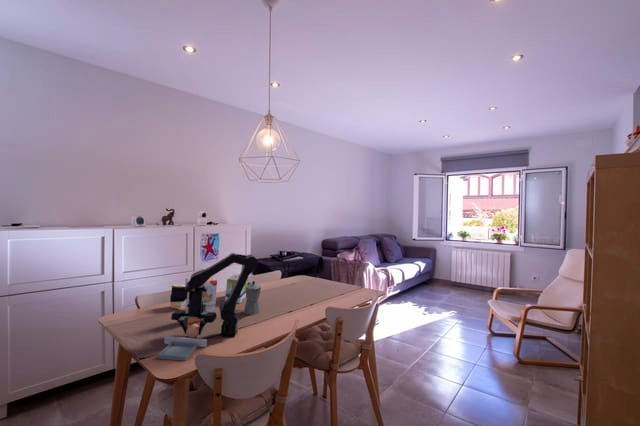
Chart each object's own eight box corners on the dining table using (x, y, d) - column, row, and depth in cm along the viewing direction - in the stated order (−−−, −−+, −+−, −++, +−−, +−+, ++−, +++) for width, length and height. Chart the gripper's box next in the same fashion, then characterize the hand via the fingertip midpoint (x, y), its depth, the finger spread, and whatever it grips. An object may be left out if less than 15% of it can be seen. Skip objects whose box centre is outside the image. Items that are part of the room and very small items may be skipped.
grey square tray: (197, 347, 127) (197, 343, 127) (185, 360, 116) (185, 356, 116) (171, 345, 127) (171, 341, 127) (157, 358, 116) (157, 354, 116)
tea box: (240, 303, 184) (242, 280, 184) (224, 302, 184) (226, 278, 184) (246, 296, 199) (248, 274, 199) (232, 295, 199) (233, 273, 199)
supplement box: (169, 307, 169) (171, 284, 168) (176, 305, 173) (177, 283, 173) (180, 310, 166) (182, 287, 166) (187, 307, 170) (188, 285, 170)
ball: (202, 334, 139) (202, 322, 139) (196, 340, 133) (197, 327, 133) (189, 333, 139) (190, 321, 139) (183, 339, 133) (184, 326, 133)
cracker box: (189, 324, 148) (191, 283, 148) (183, 321, 153) (186, 280, 152) (215, 318, 159) (217, 279, 158) (209, 314, 163) (212, 277, 162)
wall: (206, 346, 129) (207, 339, 129) (205, 347, 128) (206, 340, 128) (165, 343, 129) (165, 336, 128) (164, 343, 128) (164, 337, 128)
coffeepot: (263, 314, 169) (265, 283, 168) (247, 317, 164) (249, 285, 163) (253, 306, 182) (255, 277, 181) (238, 308, 177) (240, 278, 176)
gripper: (221, 296, 143) (219, 328, 144) (183, 294, 143) (181, 325, 144) (213, 304, 132) (210, 339, 133) (171, 301, 132) (169, 335, 133)
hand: (193, 334), depth 136 cm, fingers closed on ball, 6 cm apart
